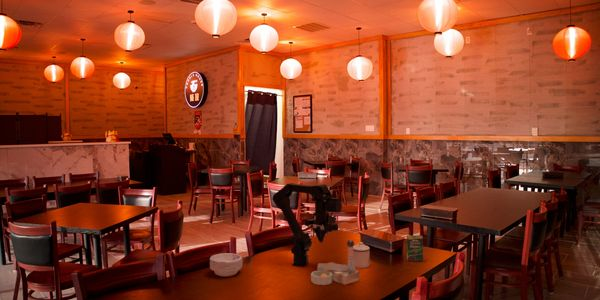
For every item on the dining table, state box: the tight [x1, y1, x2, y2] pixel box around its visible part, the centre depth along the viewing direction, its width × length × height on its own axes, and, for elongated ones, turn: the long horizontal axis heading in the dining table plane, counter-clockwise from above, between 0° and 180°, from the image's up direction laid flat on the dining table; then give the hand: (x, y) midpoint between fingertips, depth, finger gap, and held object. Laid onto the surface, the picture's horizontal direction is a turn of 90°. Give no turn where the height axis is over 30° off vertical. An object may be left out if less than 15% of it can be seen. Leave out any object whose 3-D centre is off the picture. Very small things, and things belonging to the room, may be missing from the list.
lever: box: [317, 239, 356, 275], centre depth 197 cm, size 17×7×15 cm, turn 79°
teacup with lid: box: [353, 241, 371, 269], centre depth 221 cm, size 12×9×12 cm
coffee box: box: [406, 234, 424, 262], centre depth 226 cm, size 8×3×13 cm, turn 82°
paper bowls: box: [209, 252, 243, 277], centre depth 209 cm, size 15×15×8 cm
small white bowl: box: [310, 270, 333, 286], centre depth 197 cm, size 9×9×4 cm
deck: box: [317, 261, 360, 285], centre depth 202 cm, size 18×9×4 cm, turn 39°
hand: (321, 242), depth 214 cm, fingers closed
